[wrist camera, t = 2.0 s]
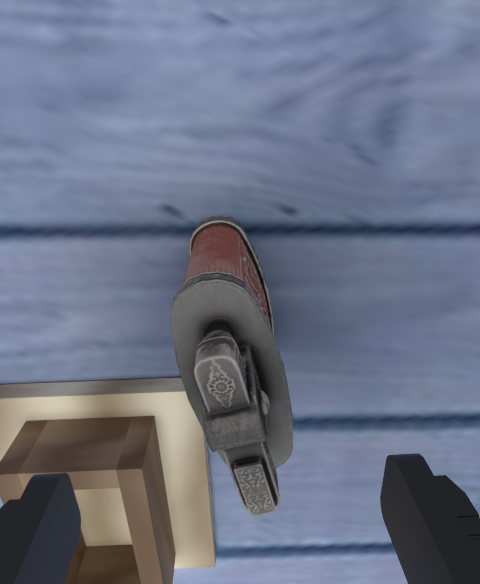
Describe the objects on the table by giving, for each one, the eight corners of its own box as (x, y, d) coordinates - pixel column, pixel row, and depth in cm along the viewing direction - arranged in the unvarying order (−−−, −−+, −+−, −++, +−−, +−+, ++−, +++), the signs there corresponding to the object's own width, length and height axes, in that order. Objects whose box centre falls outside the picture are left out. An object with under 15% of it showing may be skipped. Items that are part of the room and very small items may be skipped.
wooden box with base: (200, 376, 22) (194, 441, 18) (215, 549, 29) (213, 626, 25) (-19, 385, 22) (-76, 452, 18) (45, 556, 29) (13, 636, 24)
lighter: (176, 225, 19) (127, 342, 10) (247, 207, 18) (265, 309, 9) (222, 365, 22) (218, 547, 13) (283, 351, 22) (322, 528, 13)
